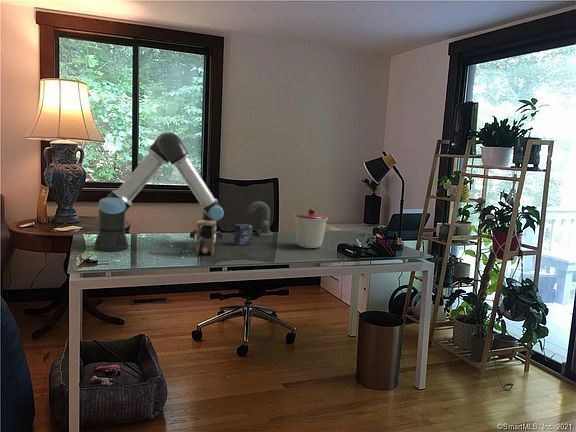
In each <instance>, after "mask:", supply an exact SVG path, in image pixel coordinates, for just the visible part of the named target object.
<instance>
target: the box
mask: <svg viewBox="0 0 576 432" xmlns="http://www.w3.org/2000/svg"><path fill="white" fill-rule="evenodd" d="M233 233H234V235H233V236H234V237H233V244H234V245H236V246H250V245H252V236H253V225H251V224H249V223H242V224H240V223H238V224H237V223H236V224H234V232H233Z"/></svg>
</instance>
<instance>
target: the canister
mask: <svg viewBox="0 0 576 432" xmlns="http://www.w3.org/2000/svg"><path fill="white" fill-rule="evenodd" d="M315 212H316V210H315V208H312V207H311V208H309V209H308V212H300V213H297V214H295V215H294V218H295V234H296V235H295V237H296V244H297V245H298V246H299V247H300V246H301V247H300V248H303V247H305V248H304V249H309V248H315V249H318V247H319V248H321V247H322V245H323V241H324V237H325V231H326V226H327V220H329V218H328V217H327V216H326V215H324V214H321V213H315Z"/></svg>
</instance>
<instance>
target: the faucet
mask: <svg viewBox="0 0 576 432" xmlns="http://www.w3.org/2000/svg"><path fill="white" fill-rule="evenodd" d="M258 209H259V210H261V211H262V217H261V218H260V219H261V221H260V226H261V228H260V229H259V228H258V229H256V233H257V235H258V234H259V235H258V236H259V238H275V234H273V232H272V231H271V230H270V222H271V221H270V220H271V219H270V218H271V210H270V207H269V205H268V204H267V203H265V202H263V201H260V200H259V201H254V202H252V203H250V205H248V208H247V211H246V212H247V213H248V214H252V213H253V214H254V213H255V211H256V210H258Z"/></svg>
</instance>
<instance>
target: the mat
mask: <svg viewBox="0 0 576 432" xmlns="http://www.w3.org/2000/svg"><path fill="white" fill-rule="evenodd" d="M182 251H183V248H182V247H163V246H155V247H154V248H153V249H152V250H151V251H150V255H163V254H167V255H168V254H169V255H168V256H180V255H179V254H181V253H182Z"/></svg>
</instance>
